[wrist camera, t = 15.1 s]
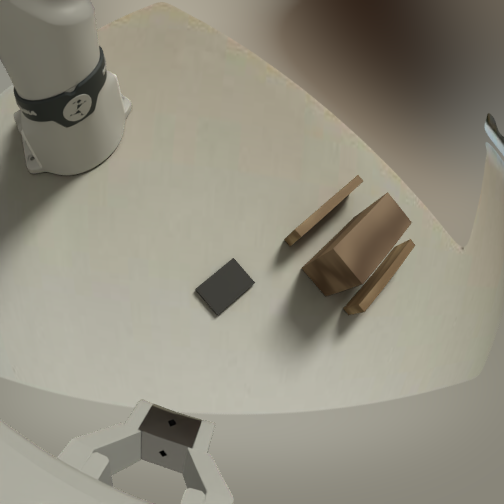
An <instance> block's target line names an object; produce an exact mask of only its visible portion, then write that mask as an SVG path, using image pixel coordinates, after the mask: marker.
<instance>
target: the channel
mask: <svg viewBox="0 0 504 504" xmlns="http://www.w3.org/2000/svg"><path fill="white" fill-rule="evenodd" d="M362 182H363V180H362V179H361V178H360V177H359V175H357V176H356V177H355V178H354V179H353V180H351V181H350V182H349V183H348V184H347V185H346V186H344V187H343V188H342V189H341V190H340V191H339V192H338V193H336V194H335V195H334V196H333V197H332V198H331V199H329V200H328V201H327V202H326V203H325V204H324V205H323V206H321V207H320V208H319V209H318V210H317V211H316V212H314V213H313V214H312V215H311V216H310V217H309V218H307V219H306V220H305V221H304V222H303V223H302V224H300V225H299V226H298V227H297V228H296V229H295V230H294V231H293V232H292V233H291V234H289V235H288V236H287V237H286V238H285V239H284V240H285V241H286V242H287V243H288V244H289V246H291V245H293V244H294V243H295V242H296V241H297V240H298V239H300V238H301V237H302V236H303V235H304V234H305V233H306V232H308V231H309V230H310V229H311V228H312V227H313V226H314V225H315V224H316V223H318V222H319V221H320V220H321V219H322V218H323V217H324V216H325V215H327V214H328V213H329V212H330V211H331V210H332V209H333V208H334V207H335V206H337V205H338V204H339V203H340V202H341V201H342V200H343V199H344V198H345V197H347V196H348V195H349V194H350V193H351V192H352V191H353V190H354V189H355V188H356V187H358V186H359V185H360V184H361V183H362ZM414 246H415V244H414V243H413V242H412V240H411V239H410V240H408V241H406V242H404V243H402V244H400V245H398V246H396V247H394V248H393V250H392V251H391V252H390V254H389V255H388V256H387V257H386V259H385V260H384V261H383V262H382V264H381V265H380V266H379V267H378V268H377V270H376V271H375V272H374V273H373V275H372V276H371V277H370V278H369V279H368V281H367V282H366V283H365V284H364V285H363V286H362V288H361V289H360V290H359V291H358V292H357V293H356V295H355V296H354V297H353V298H352V299H351V300H350V301H349V303H348V304H347V305H346V306H345V307H344V308H343V309H344V310H345V311H346V313H347V314H348V315H351V314H356V313H361V312H365V311H366V309H367V308H368V307H369V306H370V305H371V303H372V302H373V301H374V300H375V298H376V297H377V296H378V295H379V293H380V292H381V291H382V290H383V288H384V287H385V286H386V284H387V283H388V282H389V280H390V279H391V278H392V277H393V275H394V274H395V273H396V271H397V270H398V269H399V267H400V266H401V264H402V263H403V262H404V260H405V259H406V258H407V256H408V255H409V253H410V252H411V251H412V249H413V248H414Z"/></svg>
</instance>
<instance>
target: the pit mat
mask: <svg viewBox="0 0 504 504" xmlns="http://www.w3.org/2000/svg"><path fill="white" fill-rule="evenodd" d="M254 283H255V282H254V281H253V280H252V279H251V278H250V276H249V275H248V274H247V273H246V272H245V271H244V270H243V268H242V267H241V266H240V265H239V264H238V263H237V261H236V260H235V259H234V258H233V259H232V260H230V261H229V262H228V263H227V264H225V265H224V266H223V267H222V268H221V269H219V270H218V271H217V272H216V273H214V274H213V275H212V276H211V277H210V278H208V279H207V280H206V281H205V282H203V283H202V284H201V285H200V286H199V287H197V288H196V291H197V292H198V293H199V294H200V295H201V297H202V298H203V299H204V300H205V301H206V302H207V304H208V305H209V306H210V307H211V308H212V309H213V311H214V312H215V313H216V314H217V315H218V314H220V313H221V312H222V311H223V310H224V309H225V308H227V307H228V306H229V305H230V304H231V303H232V302H234V301H235V300H236V299H237V298H238V297H239V296H240V295H242V294H243V293H244V292H245V291H246V290H247V289H248V288H250V287H251V286H252V285H253V284H254Z"/></svg>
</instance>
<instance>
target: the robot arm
mask: <svg viewBox="0 0 504 504" xmlns="http://www.w3.org/2000/svg"><path fill="white" fill-rule="evenodd" d="M0 60H1V62H2V63H3V65H4V67H5V68H6V71H7V73H8V75H9V77H10V79H11V81H12V83H13V85H14V95H15V98H16V102H17V104H18V106H19V108H20V110H19V111H17V112H15V113H14V119H15V122H16V124H17V127H18V130H19V132H20V133H21V134H22V141H23V147H24V154H25V160H26V165H27V168H28V170H29V172H30V173H33V174H35V173H42V172H51V173H54V174H58V175H74V174H79V173H82V172H85V171H88V170H90V169H92V168H94V167H96V166H97V165H99V164H100V163H102V162H103V161H104V160H105V159H107V158H108V157H109V156H110V155H111V154H112V153H113V151H114V150H115V149H116V147H117V146H118V144H119V143H120V141H121V138H122V136H123V132H124V124H125V119H126V117H127V116H128V114H129V113H130V111H131V109H132V103H131V101H130V100H129V99H128V98H126V97H125V96H123V95H122V94H121V91H120V87H119V83H118V79H117V76H116V74H112V73H111V72H110V71H108V70H106V60H105V56H104V54H103V50H102V48H101V47H100V46H99V43H98V35H97V27H96V19H95V9H94V6H93V4H92V2H91V1H90V0H0ZM32 159H34V160H32ZM214 427H215V423H212V422H209V421H204V420H201V419H198V418H195V417H191V416H188V415H185V414H181V413H177V412H175V411H172V410H169V409H166V408H164V407H161V406H158V405H156V404H153V403H150V402H148V401H145V400H143V399H141V400H140V401H139V402H138V404H137V405H136V407H135V408H134V410H133V412H132V413H131V414H130V416H129V417H128V419H127V421H126V422H125V424H122V423H119V424H116V425H113V426H110V427H107V428H104V429H101V430H98V431H95V432H92V433H88V434H85V435H83V436H79V437H76V438H72V440H71V441H70V442H69V443H68V445H67V446H66V447H65V448H64V450H63V451H62V452H61V454H60V455H59V456H58V457H57V458H56V457H55V456H53V455H51V454H50V453H48V452H47V451H45V450H44V449H42V448H40V447H39V446H37V445H36V444H34V443H33V442H31V441H30V440H28V439H27V438H25V437H24V436H23V435H21V434H20V433H19V432H17V431H16V430H14V429H13V428H12V427H11V426H9V425H8V424H7V423H5V422H4V421H3V420H1V419H0V504H154V503H151V502H149V501H146V500H143V499H141V498H138V497H135V496H133V495H131V494H128V493H126V492H123V491H121V490H119V489H116V488H114V487H113V483H112V477H111V476H112V475H113V474H116V473H117V472H119V471H121V470H123V469H125V468H127V467H129V466H131V465H133V464H134V463H136V462H138V461H140V460H141V459H142V460H145V461H148V462H151V463H154V464H157V465H160V466H163V467H165V468H168V469H171V470H174V471H177V472H180V473H183V477H184V480H185V483H186V486H187V489H186V490H185V492H184V495H183V498H182V501H181V503H180V504H233V501H234V497H233V496H232V494H231V492H230V490H229V488H228V486H227V485H226V483H225V481H224V479H223V477H222V475H221V473H220V471H219V469H218V467H217V466H216V463H215V461H214V459H213V457H212V455H211V454H209V453H208V450H209V446H210V442H211V439H212V435H213V432H214Z"/></svg>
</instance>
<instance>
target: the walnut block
mask: <svg viewBox="0 0 504 504" xmlns="http://www.w3.org/2000/svg"><path fill="white" fill-rule="evenodd" d="M411 223H412V222H411V221H410V220H409V218H408V217H407V216H406V215H405V213H404V212H403V211H402V209H401V208H400V207H399V206H398V204H397V203H396V202H395V201H394V199H393V198H392V197H391V196H390V195H389V193H388V192H387V193H386V194H385V195H384V196H382V197H381V198H380V199H378V200H377V201H376V202H374V203H373V204H371V205H370V206H369V207H367V208H366V209H365V210H363V211H362V212H361V213H359V214H358V215H357V216H355V217H354V218H353V219H352V220H351V221H350V222H349V223H348V224H347V225H346V226H345V227H344V228H343V229H342V230H341V231H340V232H339V233H338V234H337V235H335V236H334V237H333V238H332V239H331V240H330V241H329V242H328V243H327V244H326V245H325V246H324V247H323V248H322V249H321V250H320V251H319V252H318V253H317V254H316V255H315V256H314V257H313V258H312V259H311V260H310V261H308V262H307V263H306V264H305V265H304V266H303V267H302V269H303V271H304V272H305V273H306V274H307V275H308V276H309V278H310V279H311V280H312V281H313V282H314V283H315V285H316V286H317V287H318V288H319V289H320V290H321V292H322V293H323V294H324V295H325V296H329V295H332V294H335V293H338V292H341V291H344V290H347V289H350V288H353V287H356V286H359V285H362V284H363V283H364V282H365V281H366V280H367V278H368V277H369V276H370V275H371V274H372V272H373V271H374V270H375V269H376V268H377V266H378V265H379V264H380V263H381V261H382V260H383V259H384V258H385V256H386V255H387V254H388V253H389V251H390V250H391V249H392V248H393V246H394V245H395V244H396V243H397V241H398V240H399V239H400V237H401V236H402V235H403V233H404V232H405V231H406V230H407V228H408V227H409V226H410V224H411Z"/></svg>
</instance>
